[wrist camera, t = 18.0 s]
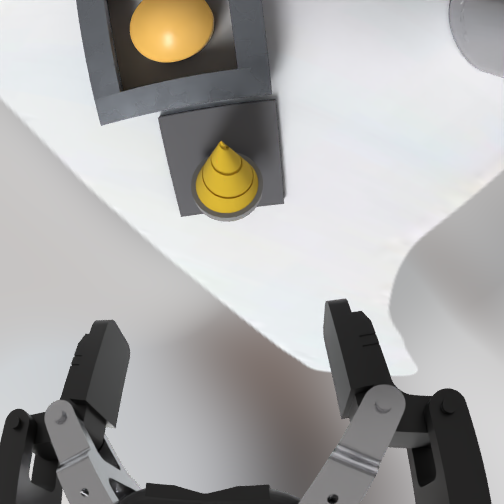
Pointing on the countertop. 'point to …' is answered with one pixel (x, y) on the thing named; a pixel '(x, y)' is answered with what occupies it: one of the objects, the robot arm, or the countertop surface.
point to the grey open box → (180, 89)
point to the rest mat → (233, 135)
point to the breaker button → (171, 28)
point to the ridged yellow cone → (227, 185)
